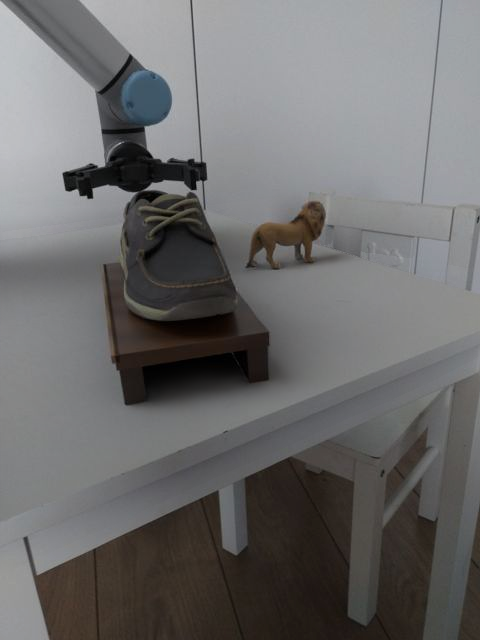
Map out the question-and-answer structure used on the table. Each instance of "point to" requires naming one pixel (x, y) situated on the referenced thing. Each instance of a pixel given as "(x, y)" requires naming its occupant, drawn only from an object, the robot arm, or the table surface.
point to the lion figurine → (289, 234)
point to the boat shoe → (172, 259)
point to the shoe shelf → (178, 338)
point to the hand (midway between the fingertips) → (142, 184)
